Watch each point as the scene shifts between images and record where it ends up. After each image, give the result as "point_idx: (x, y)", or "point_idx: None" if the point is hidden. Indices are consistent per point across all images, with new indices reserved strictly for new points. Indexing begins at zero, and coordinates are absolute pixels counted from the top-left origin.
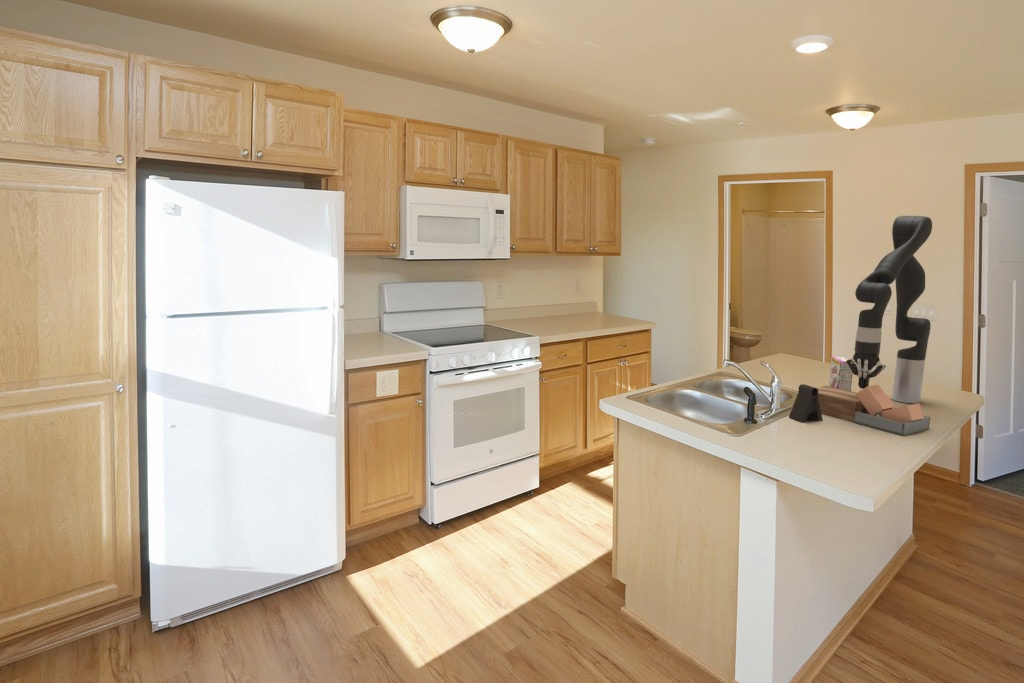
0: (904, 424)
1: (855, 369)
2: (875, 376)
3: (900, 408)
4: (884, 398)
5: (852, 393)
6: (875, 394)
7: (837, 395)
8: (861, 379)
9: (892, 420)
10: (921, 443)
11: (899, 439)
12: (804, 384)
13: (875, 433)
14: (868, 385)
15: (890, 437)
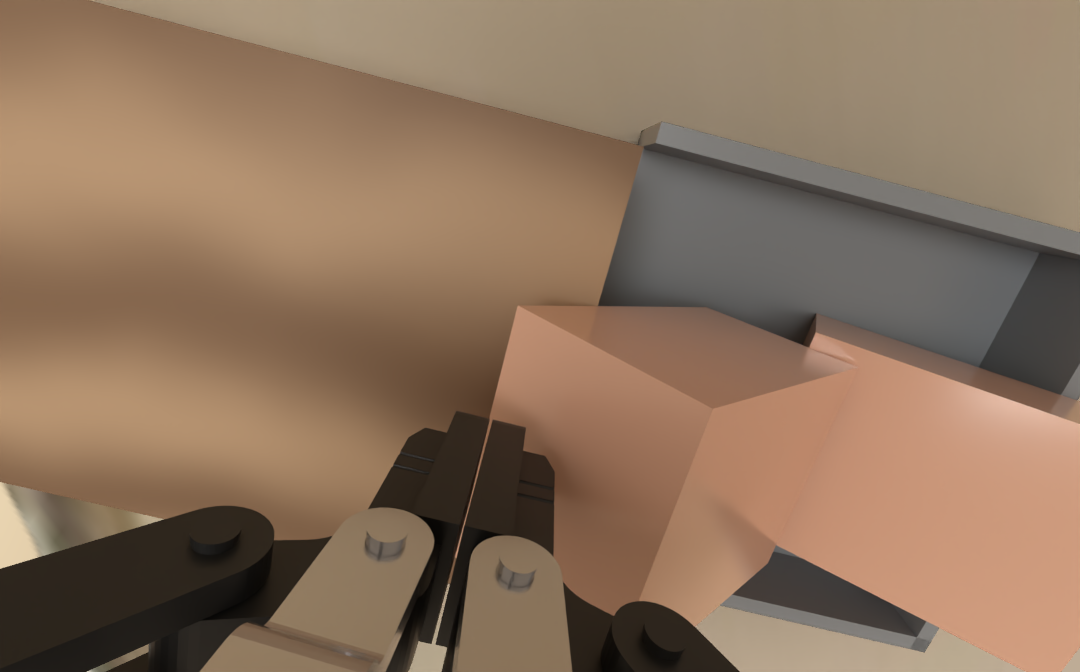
0: (923, 644)
1: (37, 617)
2: (701, 641)
3: (950, 626)
4: (780, 463)
5: (308, 174)
6: (698, 592)
7: (251, 439)
8: (425, 618)
9: (835, 620)
10: (977, 651)
11: (854, 659)
12: None
13: (712, 637)
14: (553, 476)
15: (803, 655)
